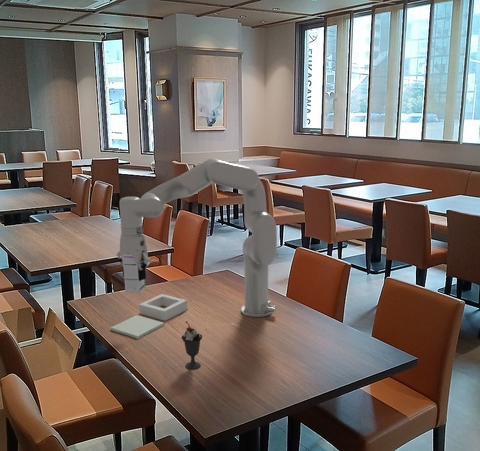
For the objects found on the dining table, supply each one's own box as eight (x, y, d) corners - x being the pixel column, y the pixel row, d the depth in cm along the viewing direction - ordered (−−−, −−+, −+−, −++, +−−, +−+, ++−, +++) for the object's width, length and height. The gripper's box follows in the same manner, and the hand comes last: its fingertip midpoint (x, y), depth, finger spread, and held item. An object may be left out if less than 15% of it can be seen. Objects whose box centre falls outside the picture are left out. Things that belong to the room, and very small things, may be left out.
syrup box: (139, 293, 190) (137, 254, 186) (124, 291, 191) (122, 254, 187) (145, 287, 195) (143, 250, 192) (130, 286, 196) (128, 249, 193)
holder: (187, 309, 213) (186, 300, 212) (165, 320, 202) (164, 311, 201) (162, 302, 220) (161, 293, 219) (139, 313, 209) (139, 304, 208)
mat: (164, 325, 198) (163, 322, 198) (138, 338, 187) (137, 336, 187) (137, 317, 206) (137, 314, 206) (110, 330, 194) (110, 327, 194)
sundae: (182, 361, 170) (181, 318, 167) (203, 360, 171) (201, 317, 167) (182, 371, 164) (180, 327, 160) (203, 370, 164) (202, 326, 161)
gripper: (156, 232, 186) (159, 279, 190) (122, 226, 195) (125, 271, 199) (142, 236, 180) (144, 285, 184) (107, 230, 189) (110, 276, 193)
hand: (134, 277), depth 192 cm, fingers closed on syrup box, 7 cm apart
